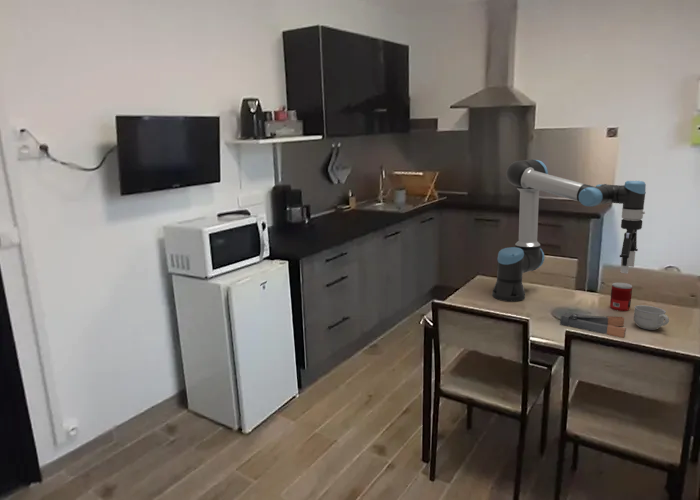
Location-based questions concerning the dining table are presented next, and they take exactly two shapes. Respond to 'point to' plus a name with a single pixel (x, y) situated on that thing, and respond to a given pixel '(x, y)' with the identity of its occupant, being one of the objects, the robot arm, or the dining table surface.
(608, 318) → the arm
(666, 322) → the teacup
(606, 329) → the tongs base
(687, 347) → the dining table surface
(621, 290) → the canned food
